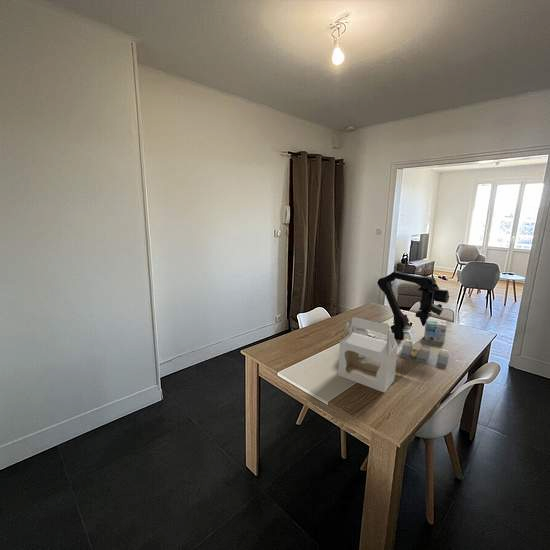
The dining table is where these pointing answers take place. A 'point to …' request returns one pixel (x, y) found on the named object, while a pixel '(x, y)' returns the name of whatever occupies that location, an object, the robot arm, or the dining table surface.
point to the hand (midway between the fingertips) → (423, 325)
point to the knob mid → (425, 348)
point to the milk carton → (362, 332)
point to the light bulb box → (435, 331)
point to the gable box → (368, 355)
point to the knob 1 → (407, 344)
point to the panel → (426, 358)
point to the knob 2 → (443, 353)
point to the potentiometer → (413, 354)
